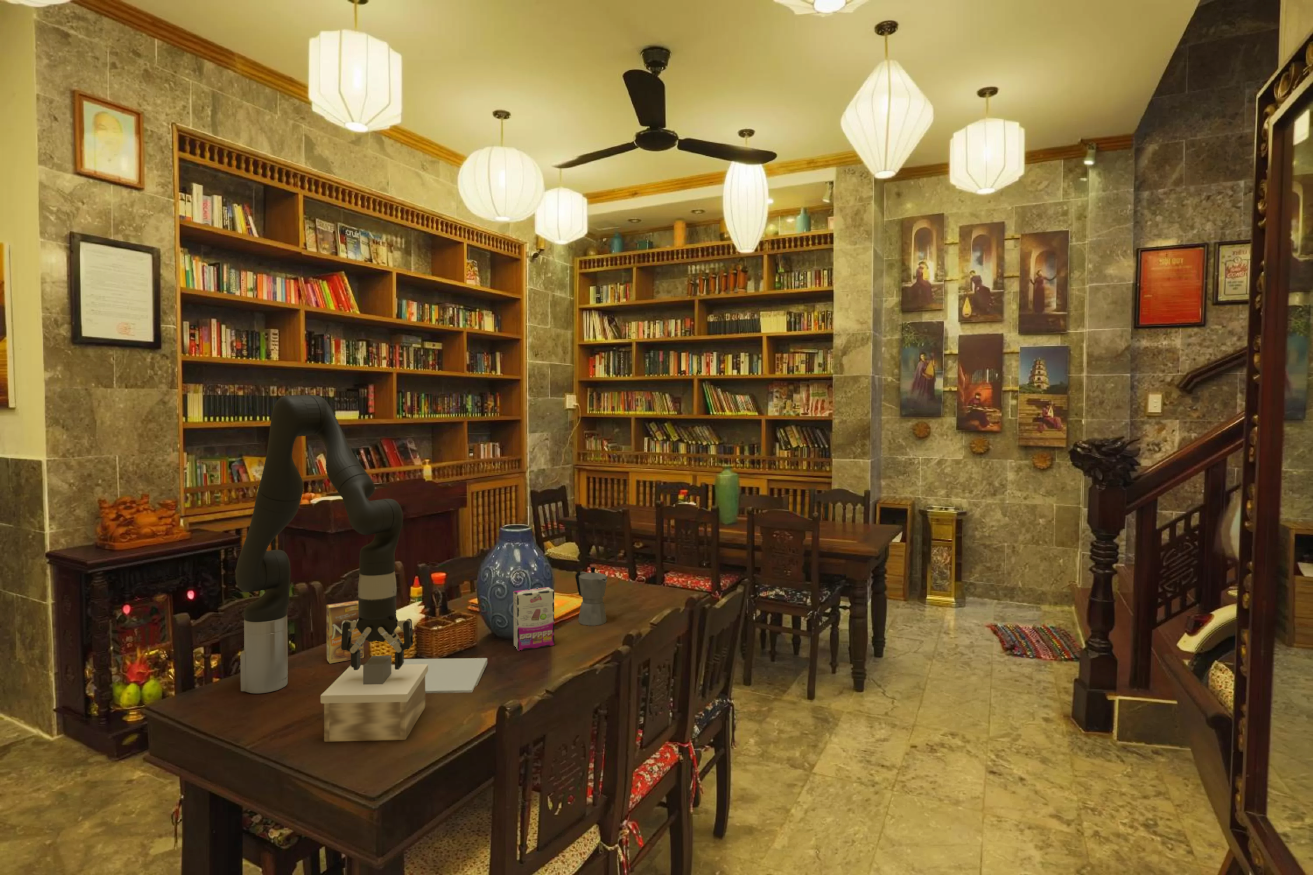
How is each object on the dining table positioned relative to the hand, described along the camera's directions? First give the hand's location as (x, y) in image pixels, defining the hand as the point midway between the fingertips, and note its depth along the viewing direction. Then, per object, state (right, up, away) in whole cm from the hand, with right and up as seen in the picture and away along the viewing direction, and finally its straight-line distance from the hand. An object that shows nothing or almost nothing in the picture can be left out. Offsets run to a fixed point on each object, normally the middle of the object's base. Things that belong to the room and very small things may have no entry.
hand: (377, 668), depth 150 cm
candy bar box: (+24, -12, +54) cm, 61 cm away
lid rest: (+4, -12, +28) cm, 31 cm away
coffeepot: (+38, -11, +80) cm, 89 cm away
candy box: (-25, -11, +42) cm, 50 cm away
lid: (0, -4, 0) cm, 4 cm away
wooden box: (0, -13, +1) cm, 13 cm away
